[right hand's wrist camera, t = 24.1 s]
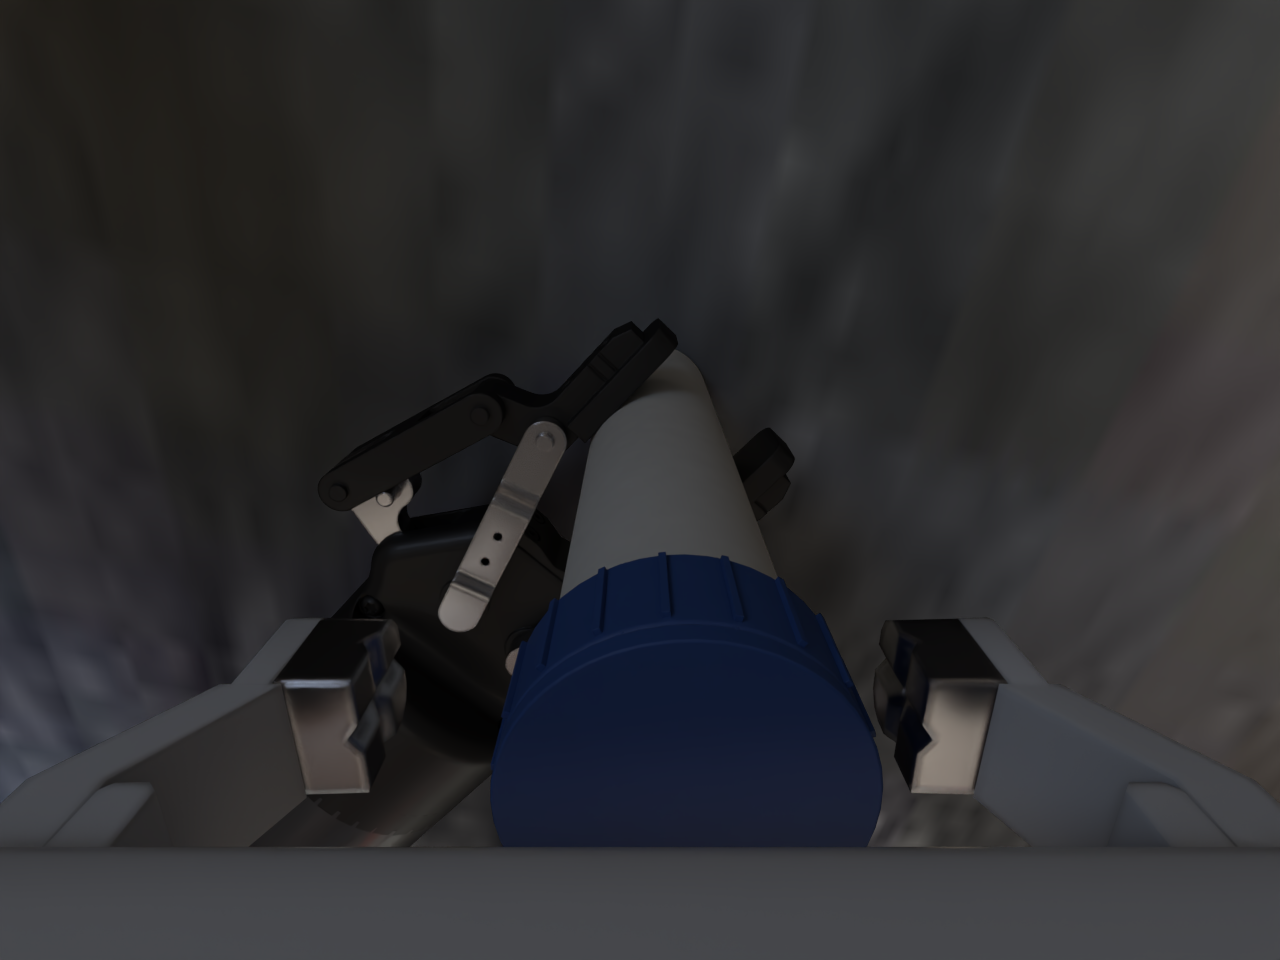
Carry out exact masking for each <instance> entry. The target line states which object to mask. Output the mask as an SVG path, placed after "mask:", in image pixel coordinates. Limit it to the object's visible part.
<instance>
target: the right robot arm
mask: <svg viewBox="0 0 1280 960" xmlns="http://www.w3.org/2000/svg"><path fill="white" fill-rule="evenodd" d="M400 645H401V642H400V637H399V631H398V626H397V624H396V623H395V622H394V621H393V620H392V619H352V618H326V619H325V618H292V619H288V620H286V621H285V622H284V623H283V624H282V625H281V626H280V627H279V629H278V630H277V631H276V632H275V633H274V634H273V636H272V637H271V638H270V639H269V640H268V641H267V643H266V644H265V645H264V646H263V647H262V648H261V650H260V651H259V652H258V653H257V654H256V655H255V657H254V658H253V659H252V660H251V661H250V662H249V664H248V665H247V666H246V667H245V668H244V669H243V671H242V672H241V673H240V674H239V675H238V677H237V678H236V679H235V680H234V681H233V682H232V684H219V685H217V686H215V687H213V688H211V689H209V690H207V691H205V692H203V693H201V694H199V695H197V696H195V697H193V698H191V699H189V700H187V701H185V702H183V703H181V704H179V705H177V706H175V707H173V708H171V709H168V710H166V711H164V712H162V713H160V714H158V715H156V716H154V717H152V718H150V719H148V720H146V721H144V722H142V723H140V724H138V725H136V726H134V727H132V728H130V729H128V730H126V731H124V732H122V733H120V734H118V735H116V736H114V737H112V738H110V739H107V740H105V741H103V742H101V743H99V744H97V745H95V746H93V747H91V748H89V749H87V750H85V751H83V752H81V753H79V754H77V755H75V756H73V757H71V758H69V759H67V760H65V761H63V762H61V763H59V764H57V765H55V766H53V767H51V768H49V769H47V770H44V771H42V772H40V773H38V774H36V775H34V776H32V777H30V778H28V779H26V780H25V781H24V782H23V783H22V784H21V785H20V786H19V787H18V788H17V789H16V790H15V791H14V792H13V793H11V794H10V795H9V796H8V797H7V798H6V799H5V800H4V801H3V802H2V803H1V804H0V960H1280V803H1278V802H1277V801H1276V800H1275V799H1274V798H1273V797H1272V796H1271V795H1270V794H1269V793H1268V792H1267V791H1266V790H1265V789H1264V788H1263V787H1262V786H1260V785H1259V784H1258V783H1257V782H1256V781H1255V780H1253V779H1251V778H1249V777H1247V776H1245V775H1243V774H1241V773H1239V772H1237V771H1235V770H1233V769H1231V768H1229V767H1227V766H1225V765H1223V764H1221V763H1219V762H1217V761H1215V760H1213V759H1211V758H1209V757H1207V756H1205V755H1203V754H1201V753H1199V752H1197V751H1194V750H1192V749H1190V748H1188V747H1186V746H1184V745H1182V744H1180V743H1178V742H1176V741H1174V740H1172V739H1170V738H1168V737H1166V736H1164V735H1162V734H1160V733H1158V732H1156V731H1154V730H1152V729H1150V728H1148V727H1146V726H1144V725H1142V724H1140V723H1138V722H1136V721H1134V720H1132V719H1130V718H1128V717H1126V716H1124V715H1122V714H1120V713H1117V712H1115V711H1113V710H1111V709H1109V708H1107V707H1105V706H1103V705H1101V704H1099V703H1097V702H1095V701H1093V700H1091V699H1089V698H1087V697H1085V696H1083V695H1081V694H1079V693H1077V692H1075V691H1073V690H1071V689H1069V688H1067V687H1065V686H1063V685H1061V684H1048V682H1047V681H1046V680H1045V679H1044V678H1043V677H1042V675H1041V674H1040V673H1039V672H1038V671H1037V670H1036V668H1035V667H1034V666H1033V665H1032V664H1031V663H1030V661H1029V660H1028V659H1027V658H1026V657H1025V656H1024V654H1023V653H1022V652H1021V651H1020V650H1019V649H1018V647H1017V646H1016V645H1015V644H1014V643H1013V642H1012V640H1011V639H1010V638H1009V637H1008V636H1007V635H1006V633H1005V632H1004V631H1003V630H1002V629H1001V628H1000V626H999V625H998V624H997V623H996V622H995V621H994V620H992V619H990V618H987V617H981V618H954V619H925V620H885V623H884V625H883V627H882V630H881V636H880V642H879V645H880V647H881V649H882V651H883V653H884V655H885V657H886V659H885V660H884V661H883V662H882V663H881V664H880V665H879V666H878V667H877V668H876V669H875V677H874V686H873V693H874V707H875V711H876V715H877V719H878V722H879V724H880V727H881V729H882V731H883V733H884V734H885V735H886V736H888V737H889V738H890V739H892V740H893V741H895V742H896V747H895V754H894V757H895V760H896V762H897V764H898V766H899V768H900V770H901V772H902V775H903V777H904V779H905V781H906V783H907V785H908V787H909V790H910V792H911V793H945V794H974V795H973V797H974V798H975V799H976V800H977V801H978V802H979V803H981V804H982V805H983V806H984V807H985V808H987V809H988V810H989V811H990V812H991V813H992V814H994V815H995V816H996V817H997V818H998V819H1000V820H1001V821H1002V822H1003V823H1004V824H1005V825H1007V826H1008V827H1009V828H1010V829H1011V830H1013V831H1014V832H1015V833H1016V834H1017V835H1018V836H1020V837H1021V838H1022V839H1023V840H1024V841H1026V842H1027V843H1028V844H1029V845H1030V846H1031V847H249V846H250V845H251V844H252V843H254V842H255V841H256V840H257V839H258V838H259V837H261V836H262V835H263V834H264V833H265V832H267V831H268V830H269V829H270V828H271V827H272V826H274V825H275V824H276V823H277V822H278V821H280V820H281V819H282V818H283V817H284V816H285V815H287V814H288V813H289V812H290V811H291V810H293V809H294V808H295V807H296V806H297V805H299V804H300V803H301V802H302V801H303V800H304V799H306V798H307V796H306V794H334V793H369V792H370V790H371V788H372V785H373V783H374V781H375V779H376V777H377V775H378V773H379V770H380V768H381V766H382V764H383V762H384V760H385V757H386V754H385V747H384V742H385V741H387V740H388V739H390V738H391V737H392V736H394V735H395V734H396V733H397V731H398V729H399V726H400V724H401V722H402V719H403V715H404V710H405V705H406V695H407V683H406V676H405V669H404V668H403V667H402V666H401V665H400V664H399V663H398V662H397V661H396V660H395V659H394V657H395V655H396V653H397V651H398V649H399V647H400Z"/></svg>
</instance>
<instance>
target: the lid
mask: <svg viewBox="0 0 1280 960" xmlns="http://www.w3.org/2000/svg"><path fill="white" fill-rule="evenodd" d="M501 717H502V718H503V719H502V723H501V727H500V730H499V734H498V738H497V742H496V746H495V749H494V753H493V757H492V761H491V770H493V771H492V777H491V793H490V801H491V808H492V814H493V820H494V824H495V827H496V830H497V833H498V836H499V839H500V841H501V843H502V845H503V847H867V845H868V843H869V841H870V838H871V836H872V834H873V832H874V830H875V827H876V824H877V820H878V817H879V813H880V810H881V802H882V793H883V777H882V766H881V762H880V757H879V753H878V749H877V746H876V744H875V741H874V739H873V737H876V733H875V730H874V727H873V725H872V723H871V721H870V718H869V716H868V714H867V712H866V710H865V707H864V705H863V703H862V701H861V698H860V696H859V694H858V692H857V690H856V687H855V685H854V683H853V681H852V678H851V676H850V674H849V672H848V670H847V667H846V665H845V663H844V661H843V659H842V657H841V655H840V653H839V650H838V648H837V646H836V644H835V642H834V639H833V637H832V635H831V633H830V630H829V628H828V626H827V624H826V622H825V619H824V617H823V616H822V615H821V613H819V614H817V615H815V614H814V613H813V612H812V611H811V609H810V608H809V607H808V606H807V605H806V604H805V603H804V601H802V600H801V599H800V598H799V597H798V596H797V595H795V594H794V593H793V592H792V591H791V590H790V589H788V588H787V587H786V584H785V582H784V580H783V579H781V578H780V577H777V578H776V580H775V579H773V578H772V577H770V576H768V575H765V574H763V573H761V572H759V571H757V570H755V569H753V568H751V567H748V566H745V565H742V564H739V563H736V562H733V561H730V560H729V557H728V556H724V555H721V558H717V557H710V556H701V555H689V554H678V555H666V552H659V553H658V556H653V557H647V558H641V559H637V560H633V561H630V562H625V563H623V564H619V565H617V566H614V567H612V568H609V569H606V567H605V566H604V567H602V568H600V569H598V574H596V575H594V576H592V577H591V578H589V579H587V580H585V581H584V582H582V583H580V584H578V585H577V586H576V587H575V588H573V589H572V590H571V591H569V592H568V593H567V594H565V595H564V596H563V597H561V598H560V599H559V600H557V599H556V598H554V599H553V600H552V601H551V602H550V604H549V609H548V611H547V613H546V614H545V615H544V616H543V618H542V619H541V620H540V622H539V623H538V624H537V626H536V627H535V629H534V631H533V633H532V634H531V636H530V638H529V640H528V642H525V641H522V642H521V644H520V647H519V651H518V655H517V658H516V662H515V666H514V670H513V673H512V677H511V681H510V684H509V688H508V692H507V696H506V699H505V703H504V707H503V711H502V714H501Z"/></svg>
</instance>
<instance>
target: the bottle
mask: <svg viewBox="0 0 1280 960" xmlns="http://www.w3.org/2000/svg"><path fill="white" fill-rule="evenodd" d="M659 552H666V555H678V554H689V555H701V556H710V557H717V558H721V555H724V556H728V557H729V560H730V561H733V562H736V563H739V564H742V565H745V566H748V567H751V568H753V569H755V570H757V571H759V572H761V573H763V574H765V575H768V576H770V577H772V578H773V579H775V580H776V578H777V575H776V572H775V569H774V567H773V564H772V561H771V558H770V556H769V553H768V550H767V548H766V545H765V542H764V540H763V537H762V534H761V532H760V529H759V526H758V524H757V521H756V518H755V516H754V513H753V510H752V508H751V505H750V502H749V500H748V497H747V494H746V492H745V489H744V486H743V484H742V481H741V478H740V476H739V473H738V470H737V468H736V465H735V462H734V460H733V457H732V454H731V452H730V449H729V446H728V444H727V441H726V438H725V436H724V433H723V430H722V428H721V425H720V422H719V420H718V417H717V414H716V411H715V409H714V406H713V403H712V401H711V398H710V395H709V393H708V390H707V387H706V385H705V382H704V379H703V377H702V375H701V373H700V371H699V369H698V368H697V366H696V365H695V364H694V363H693V362H692V361H691V360H690V359H689V358H688V357H687V356H686V355H684V354H683V353H681V352H679V351H678V350H674V351H673V352H672V354H671V355H670V356H669V357H668V358H667V359H666V360H665V361H664V362H663V363H662V364H661V365H660V366H659V367H658V369H657V370H656V371H655V372H654V373H653V374H652V375H651V376H650V377H649V378H648V379H647V380H646V381H645V382H644V383H643V384H642V385H641V386H640V387H639V388H638V389H637V390H636V391H635V392H634V393H633V394H632V395H631V396H630V397H629V398H628V399H627V400H626V401H625V402H624V404H623V405H622V406H621V407H620V408H619V409H618V410H617V411H616V412H615V413H614V414H613V415H612V416H611V417H609V418H608V419H607V421H606V422H605V423H604V424H603V425H602V426H601V427H600V428H599V429H598V430H597V431H596V432H595V433H594V434H593V435H592V438H591V443H590V448H589V453H588V458H587V463H586V468H585V473H584V479H583V484H582V489H581V494H580V499H579V504H578V509H577V514H576V519H575V524H574V529H573V534H572V539H571V544H570V549H569V555H568V560H567V565H566V570H565V575H564V580H563V585H562V590H561V595H560V598H561V597H563V596H564V595H565V594H567V593H568V592H569V591H571V590H572V589H573V588H575V587H576V586H577V585H578V584H580V583H582V582H584V581H585V580H587V579H589V578H591V577H592V576H594V575H596V574H598V569H600V568H602V567H604V566H605V567H606V569H609V568H612V567H614V566H617V565H619V564H623V563H625V562H630V561H633V560H637V559H641V558H647V557H653V556H658V553H659Z"/></svg>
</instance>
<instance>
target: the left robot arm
mask: <svg viewBox="0 0 1280 960" xmlns="http://www.w3.org/2000/svg"><path fill="white" fill-rule="evenodd" d="M677 345H678V341H677V338H676V335H675V334H674V333H673V332H672V331H671V330H670V329H669V328H668V327H667V326H666V325H665V324H664V323H663V322H662V321H661V320H660V319H659V318H658V319H656V320H655V321H654V322H652V323H651V324H650V325H649V326H648V327H647V328H646V329H645V330H644V332H642V331H641V330H640V329H639V328H638V327H637V326H636V325H635V324H634V323H633V322H632V321H631V322H629V323H626V324H624V325H622V326H620V327H618V328H616V329H614V330H613V331H612V332H611V333H610V334H609V335H608V337H607V338H606V339H605V340H604V341H603V342H602V343H601V344H600V345H599V346H598V347H597V348H596V349H595V350H594V352H593V353H592V354H591V355H590V356H589V357H588V358H587V359H586V360H585V361H584V362H583V363H582V364H581V366H580V367H579V368H578V369H577V370H576V371H575V372H574V373H573V374H572V375H571V376H570V377H569V378H568V380H567V381H566V382H565V383H564V384H563V385H562V386H561V387H560V388H559V389H558V390H556V391H555V392H552V393H550V394H545V395H538V394H534V393H531V392H528V391H526V390H523V389H521V388H519V387H516V386H515V385H514V383H513V382H512V381H511V380H510V379H509V378H508V377H506V376H505V375H502V374H497V373H494V374H489V375H487V376H485V377H483V378H481V379H479V380H478V381H476V382H474V383H472V384H470V385H469V386H467V387H465V388H463V389H461V390H460V391H458V392H456V393H454V394H452V395H451V396H449V397H447V398H445V399H443V400H441V401H440V402H438V403H436V404H434V405H432V406H431V407H429V408H427V409H425V410H423V411H422V412H420V413H418V414H416V415H414V416H413V417H411V418H409V419H407V420H405V421H404V422H402V423H400V424H398V425H396V426H395V427H393V428H391V429H389V430H387V431H386V432H384V433H382V434H380V435H378V436H377V437H375V438H373V439H371V440H369V441H368V442H366V443H364V444H362V445H360V446H359V447H357V448H356V449H354V450H353V451H352V452H351V453H350V454H349V455H347V456H346V457H345V458H344V459H343V460H341V461H340V462H339V463H338V464H337V465H336V466H334V467H333V468H332V469H331V470H330V471H329V472H328V473H327V474H326V475H324V476H323V477H322V478H321V480H320V481H319V484H318V494H319V496H320V498H321V500H322V501H323V503H324V504H325V505H327V506H328V507H330V508H331V509H334V510H337V511H348V510H352V511H353V512H354V514H355V515H356V516H357V518H358V519H359V520H360V522H361V523H362V524H363V526H364V527H365V528H366V530H367V531H368V532H369V534H370V535H371V536H372V538H373V539H374V540H375V542H376V543H377V544H378V546H377V548H376V549H375V551H374V554H373V557H372V562H371V571H370V574H369V577H368V579H367V580H366V581H365V582H364V583H363V584H362V585H361V586H360V587H359V588H358V590H357V591H356V592H355V593H354V594H353V595H352V596H351V597H350V598H349V599H348V600H347V601H346V603H345V604H344V605H343V606H342V607H341V608H340V609H339V610H338V611H337V612H336V613H335V615H334V616H333V617H332V618H352V619H392V620H393V621H394V622H395V623H396V624H397V626H398V631H399V637H400V642H401V645H400V647H399V649H398V651H397V653H396V655H395V657H394V659H395V660H396V661H397V662H398V663H399V664H400V665H401V666H402V667H403V668H404V669H405V676H406V683H407V695H406V705H405V710H404V715H403V719H402V722H401V724H400V726H399V729H398V731H397V733H396V734H395V735H394V736H392V737H391V738H390V739H388V740H387V741H385V742H384V747H385V754H386V757H385V760H384V762H383V764H382V766H381V768H380V770H379V773H378V775H377V777H376V779H375V781H374V783H373V785H372V788H371V790H370V792H369V793H334V794H306V796H307V798H306V799H304V800H303V801H302V802H301V803H300V804H299V805H297V806H296V807H295V808H294V809H293V810H291V811H290V812H289V813H288V814H287V815H285V816H284V817H283V818H282V819H281V820H280V821H278V822H277V823H276V824H275V825H274V826H272V827H271V828H270V829H269V830H268V831H267V832H265V833H264V834H263V835H262V836H261V837H259V838H258V839H257V840H256V841H255V842H254V843H252V844H251V845H250V846H249V847H410V846H411V845H412V844H413V843H415V842H416V841H417V840H418V839H419V838H420V837H421V836H422V835H423V834H425V833H426V832H427V831H428V830H429V829H430V828H431V827H432V826H433V825H435V824H436V823H437V822H438V821H439V820H440V819H441V818H443V817H444V816H445V815H446V814H447V813H448V812H449V811H451V810H452V809H453V808H454V807H455V806H456V805H457V804H458V803H460V802H461V801H462V800H463V799H464V798H465V797H466V796H467V795H469V794H470V793H471V792H472V791H473V790H474V789H475V788H476V787H478V786H479V785H480V784H481V783H482V782H483V781H484V780H486V779H487V778H488V777H489V776H490V775H491V774H492V771H493V770H491V761H492V757H493V753H494V749H495V746H496V742H497V738H498V734H499V730H500V727H501V723H502V719H503V718H502V717H501V714H502V711H503V707H504V703H505V699H506V696H507V692H508V688H509V684H510V681H511V677H512V673H513V670H514V666H515V662H516V658H517V655H518V651H519V647H520V644H521V642H522V641H525V642H528V640H529V638H530V636H531V634H532V633H533V631H534V629H535V627H536V626H537V624H538V623H539V622H540V620H541V619H542V618H543V616H544V615H545V614H546V613H547V611H548V609H549V604H550V602H551V601H552V600H553V599H554V598H556V599H557V600H559V599H560V595H561V590H562V585H563V580H564V575H565V570H566V565H567V560H568V555H569V549H570V544H571V542H569V541H567V540H565V539H563V538H562V537H561V536H560V535H559V534H558V532H557V531H556V530H555V528H554V527H553V525H552V524H551V523H550V521H549V520H548V518H546V517H545V516H544V515H543V514H542V513H540V512H539V511H538V510H537V509H536V507H537V505H538V502H539V500H540V498H541V496H542V494H543V492H544V490H545V488H546V487H547V485H548V483H549V481H550V479H551V477H552V475H553V473H554V471H555V469H556V467H557V465H558V463H559V461H560V460H561V458H562V456H563V454H564V452H565V451H566V450H567V449H568V448H569V447H570V446H571V445H572V444H573V442H574V441H575V440H576V439H577V438H578V437H579V438H580V439H581V440H582V441H583V442H585V443H586V442H587V441H588V440H589V439H590V437H591V436H592V435H593V434H594V433H595V432H596V431H597V430H598V429H599V428H600V427H601V426H602V425H603V424H604V423H605V422H606V421H607V419H608V418H609V417H611V416H612V415H613V414H614V413H615V412H616V411H617V410H618V409H619V408H620V407H621V406H622V405H623V404H624V402H625V401H626V400H627V399H628V398H629V397H630V396H631V395H632V394H633V393H634V392H635V391H636V390H637V389H638V388H639V387H640V386H641V385H642V384H643V383H644V382H645V381H646V380H647V379H648V378H649V377H650V376H651V375H652V374H653V373H654V372H655V371H656V370H657V369H658V367H659V366H660V365H661V364H662V363H663V362H664V361H665V360H666V359H667V358H668V357H669V356H670V355H671V354H672V352H673V351H674V350H675V348H676V347H677ZM489 435H491V436H493V437H496V438H498V439H501V440H503V441H506V442H508V443H511V444H513V445H516V446H518V448H517V450H516V452H515V454H514V456H513V458H512V460H511V462H510V464H509V466H508V468H507V470H506V472H505V474H504V476H503V478H502V480H501V482H500V484H499V486H498V489H497V491H496V493H495V495H494V497H493V499H492V501H491V503H490V504H489V505H483V506H477V507H471V508H465V509H459V510H454V511H448V512H442V513H436V514H430V515H424V516H419V517H413V518H410V517H409V515H408V512H407V504H408V503H409V502H410V501H411V499H412V498H413V497H414V496H415V494H416V493H417V492H418V490H419V489H420V487H421V483H422V478H421V474H420V472H422V471H424V470H426V469H427V468H429V467H431V466H433V465H435V464H437V463H439V462H440V461H442V460H444V459H446V458H448V457H450V456H452V455H453V454H455V453H457V452H459V451H461V450H463V449H465V448H466V447H468V446H470V445H472V444H474V443H476V442H478V441H480V440H481V439H483V438H485V437H487V436H489ZM733 460H734V462H735V465H736V468H737V470H738V473H739V476H740V478H741V481H742V484H743V486H744V489H745V492H746V494H747V497H748V500H749V502H750V505H751V508H752V510H753V513H754V516H755V518H756V521H758V520H760V519H761V518H762V517H763V516H764V515H765V514H767V512H768V511H770V510H771V509H772V508H773V507H774V506H776V505H777V504H778V503H779V502H780V501H781V500H782V499H783V498H784V496H785V494H786V492H787V490H788V488H789V486H790V484H791V483H790V481H789V479H788V477H787V475H786V473H787V472H788V471H789V469H790V468H791V467H792V465H793V463H794V460H795V458H794V456H793V454H792V453H791V451H790V449H789V448H788V446H787V444H786V443H785V442H784V441H783V440H782V439H781V438H780V437H779V436H778V435H777V434H776V433H775V432H774V431H773V430H772V429H771V428H765V429H763V430H762V431H760V432H759V433H758V434H757V435H756V436H754V437H753V438H752V439H751V440H750V441H749V442H748V443H747V444H746V445H745V446H744V447H743V448H742V449H741V450H740V451H739V452H737V453H736V454H735V455H734V456H733Z"/></svg>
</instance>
